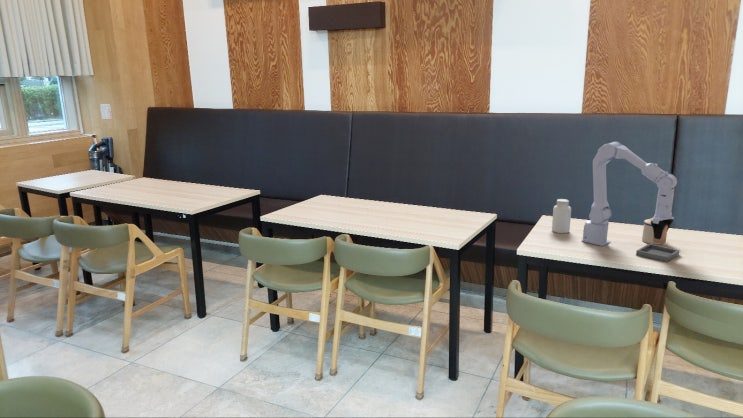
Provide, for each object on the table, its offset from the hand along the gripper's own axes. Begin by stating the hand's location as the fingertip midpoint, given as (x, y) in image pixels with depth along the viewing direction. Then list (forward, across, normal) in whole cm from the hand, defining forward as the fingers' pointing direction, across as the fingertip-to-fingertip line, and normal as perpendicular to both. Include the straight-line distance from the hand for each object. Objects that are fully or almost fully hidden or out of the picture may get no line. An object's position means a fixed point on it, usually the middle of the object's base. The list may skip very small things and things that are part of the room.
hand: (659, 237), depth 222 cm
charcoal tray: (+8, 0, 0) cm, 8 cm away
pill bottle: (+8, +3, +44) cm, 45 cm away
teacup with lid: (+8, +18, +8) cm, 22 cm away
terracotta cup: (+2, 0, 0) cm, 2 cm away
